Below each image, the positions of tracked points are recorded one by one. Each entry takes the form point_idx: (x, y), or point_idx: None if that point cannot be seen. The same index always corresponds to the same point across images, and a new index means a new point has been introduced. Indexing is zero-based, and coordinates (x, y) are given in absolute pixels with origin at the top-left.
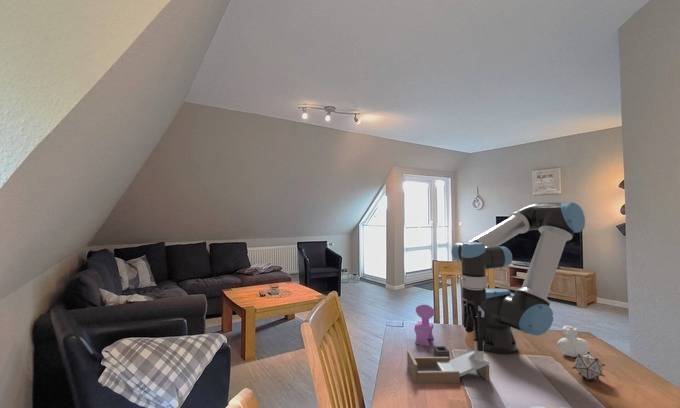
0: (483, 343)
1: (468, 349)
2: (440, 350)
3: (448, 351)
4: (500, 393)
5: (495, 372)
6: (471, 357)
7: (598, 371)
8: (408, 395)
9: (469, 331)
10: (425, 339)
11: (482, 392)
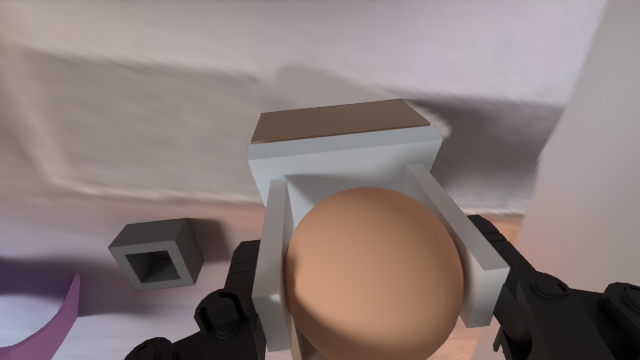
0: (433, 216)
1: (292, 225)
2: (141, 255)
3: (175, 243)
4: (508, 88)
5: (312, 26)
6: (323, 195)
7: None
8: (450, 338)
9: (262, 338)
10: (63, 315)
11: (482, 161)
